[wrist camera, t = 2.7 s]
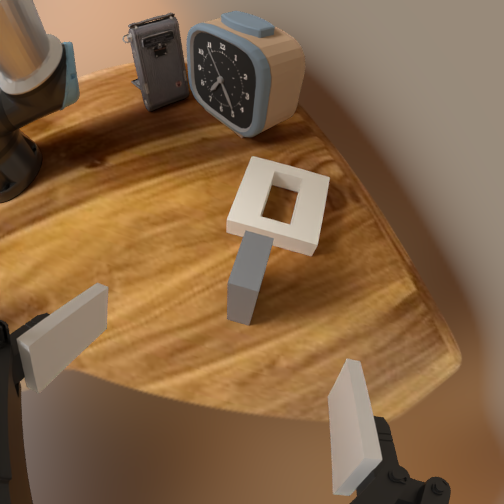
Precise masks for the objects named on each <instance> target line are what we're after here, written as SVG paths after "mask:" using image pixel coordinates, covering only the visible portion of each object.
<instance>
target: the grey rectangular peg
mask: <svg viewBox="0 0 504 504" xmlns="http://www.w3.org/2000/svg"><path fill="white" fill-rule="evenodd" d="M273 240H274V238H271V237H268V236H264V235H260V234H257V233H253V232H250V231H246V230H245V233H244V236H243V239H242V242H241V245H240V248H239V251H238V254H237V257H236V260H235V263H234V266H233V269H232V272H231V275H230V278H229V281H228V298H227V319H228V320H231V321H235V322H238V323H242V324H245V325H250V321H251V318H252V314H253V311H254V308H255V304H256V301H257V297H258V294H259V290H260V287H261V283H262V280H263V276H264V273H265V269H266V265H267V262H268V258H269V254H270V251H271V247H272V244H273Z"/></svg>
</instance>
